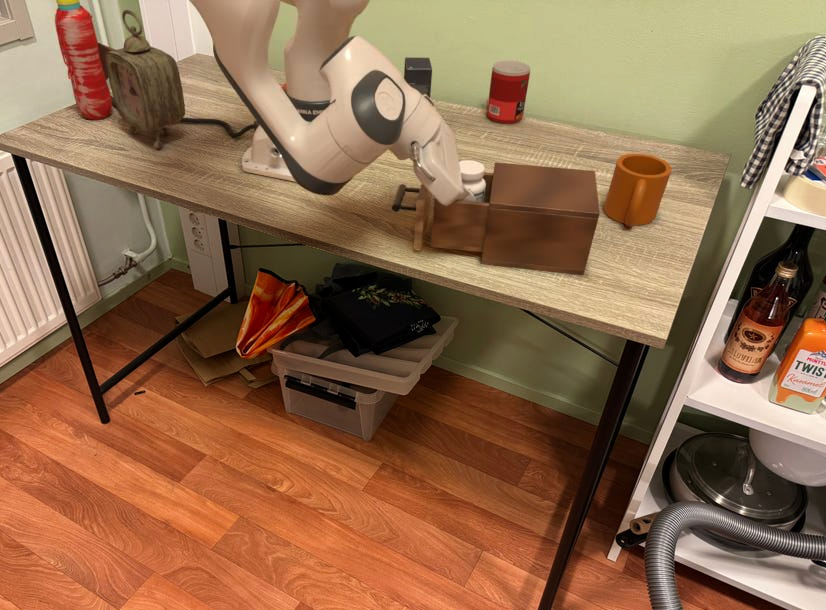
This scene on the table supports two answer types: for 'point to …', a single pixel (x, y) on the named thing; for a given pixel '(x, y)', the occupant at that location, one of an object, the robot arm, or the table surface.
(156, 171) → the table surface
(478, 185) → the pill bottle
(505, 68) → the canned food
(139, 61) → the tabletop clock
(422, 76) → the box
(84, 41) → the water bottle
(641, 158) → the mug
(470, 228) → the drawer
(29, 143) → the table surface
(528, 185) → the cabinet
